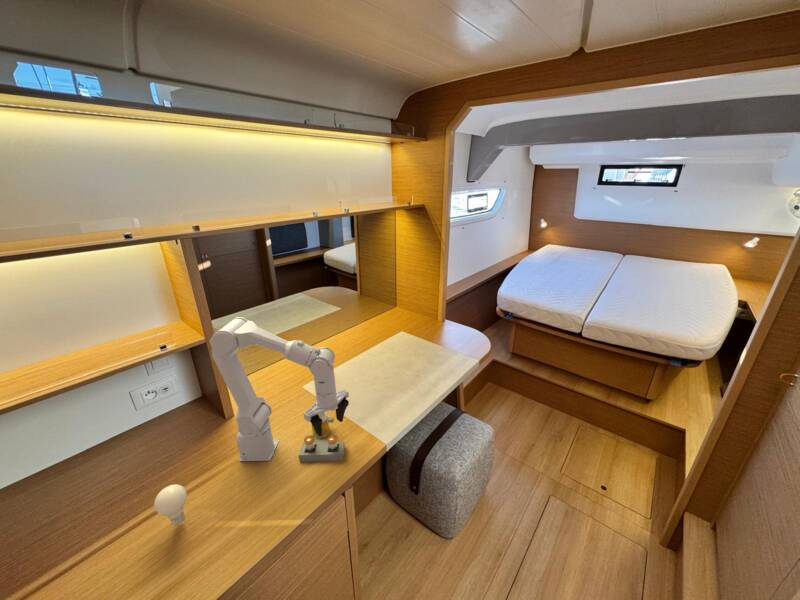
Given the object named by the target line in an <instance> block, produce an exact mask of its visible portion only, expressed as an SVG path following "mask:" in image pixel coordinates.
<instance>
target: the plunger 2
mask: <svg viewBox="0 0 800 600" xmlns="http://www.w3.org/2000/svg"><path fill="white" fill-rule="evenodd" d="M326 440H327V442H328V444H329V451H330V452H338V445H337V442H338V436H337V435H335V434H331V435H329V436H327V438H326Z"/></svg>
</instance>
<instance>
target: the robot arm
mask: <svg viewBox="0 0 800 600" xmlns="http://www.w3.org/2000/svg"><path fill="white" fill-rule="evenodd" d="M208 342H209V345H210V346H211V357H212V358H213V361H214V363H215V364H216V368H217V369H218V370H219V373H220V374H221V376H222V379H223V381H224V382H225V384H226V386H227V388H228V390H229V392H230V394H231V396H232V398H233V400H234V402H235V403H236V406H237V412H236V415H235V416H236V417H235V420H236V422H237V431H238V432H237V434H236V444H237V448H238V452H239V457H240V458H239V462H260V461H261V462H262V461H265V462H266V461H267V462H268V461H271V460H272V458H273V456H274V454H275V451H276V449H277V447H278V445H279V442H280V440H279V439H274V437H273V433H272V428H271V427H272V426H271V423H270V422H271V421H270V416H271V415H272V412H273V410H272V406H271V405H270V404H269V403H267V401H266V400H265V399H264V397H263V396H257V394H256V392H255V390H254V388H253V385H252V383H251V381H250V380H249V378H248V376H247V373H246V371H245V369H244V367H243V365H242V363H241V361H240V358H239V357H238V354H237V351H238V349H239V350H242V349H244V348H248V347H250V346H253V345H254V346H255V345H256V346H259V347H263V348H266V349H268V350H272V351H275V352H277V353H282V354H283V355H284V358H285V360H287V361H290V362H293V363H295V364H298V365H300V366H303V367H305V368H307V369H308V368H309V369H308V370H309V372H310V373H311V375H313V382H314V390H315V397H316V398H315V399H316V401H315V402H314V403H313V404H312V405H311V407H310V408H308V409H307V410H306V411H305V412H303V419H304V420H305V421H306V422H307V423H308V422H310V424H311V426H312V425H313V427H314V429H315V431H316V434H318V435H319V436H321V435H322V421H323V420H322V419H321V418H319V416H318V414H320V413H323V412H326V413H327V412H329V411H331V412H334V411H335V417H336V420H337V421H339V422H340V423H342V422H343V421H344V417H345V413H346V410H347V407H348V406H349V404H350V403H349V400H348V398H349V396H350V394H349V391H348V390H346V389H345V388H344V389H342V390H341V391H337V388H336V387H337V386H336V377H335V370H334V369H335V368H334V365H333V364H334V362H335V360H336V359H335V358H336V355H335V352H334V351H333V350H332V349H330V348H328V347H327V346H322V347H318V346H317V347H315V346H312V345H310V344H307V343H305V342H304V340H301V339H298V340H297V339H294V340H290V341H288V340H286V339H284V338H282V337H279V336H278V335H276V334H273V333H271V332H270V331H267V330H266V329H264V328H261V327H259V326H257V324H256V323H255V322H254V321H252V320H248V319H247V318H245V317H242V316H237V317H234V318H232V319H231V320H229V322H228V323H226V324H225V325H224V326H223V327H221V328H220V329H219V330H216V331H215V332H214V333H213V334H212V336H211V338H210V339H209V341H208Z"/></svg>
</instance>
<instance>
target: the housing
mask: <svg viewBox="0 0 800 600" xmlns="http://www.w3.org/2000/svg"><path fill="white" fill-rule="evenodd" d="M330 422H331V423H332V422H334V417H333V416H328V423H330ZM314 444H315V451H314V452H312V453H307V451H306V444H305V443H304V442H302V446H301V447H300V451H299V453H298V460H299V462H336V461H337V462H340V461H341V462H342V461H343V460H344V456H345V449H346V444H345V441H337V445H338V450H337V451H336V452H330V451H329V444H328V441H327V439H315V441H314Z"/></svg>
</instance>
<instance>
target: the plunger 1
mask: <svg viewBox="0 0 800 600" xmlns="http://www.w3.org/2000/svg"><path fill="white" fill-rule="evenodd" d="M315 440H316V438H315V437H314V436H313V434H312V435H307V436H305V437H304V439H303V441H304V442H303V443H305V444H306V451H307V453H315V444H314V441H315Z"/></svg>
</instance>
